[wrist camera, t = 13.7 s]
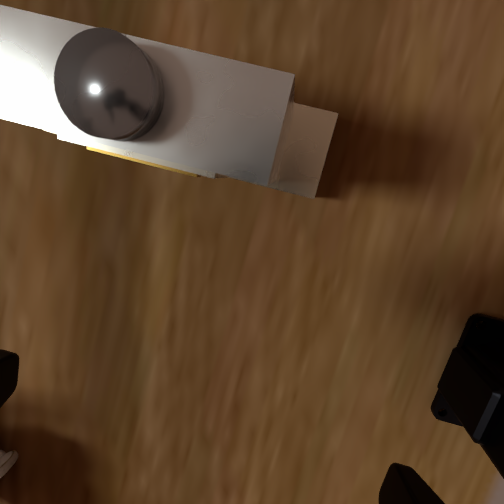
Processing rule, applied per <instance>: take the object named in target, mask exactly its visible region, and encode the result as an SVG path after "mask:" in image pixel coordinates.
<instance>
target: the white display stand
mask: <svg viewBox="0 0 504 504" xmlns="http://www.w3.org/2000/svg"><path fill="white" fill-rule="evenodd" d="M294 87H295V74H291V73H287V72H283V71H279V70H275V69H270V68H266V67H262V66H258V65H253V64H249V63H245V62H241V61H236V60H232V59H228V58H224V57H219V56H215V55H211V54H207V53H202V52H198V51H194V50H190V49H185V48H181V47H177V46H173V45H168V44H164V43H160V42H156V41H151V40H147V39H143V38H139V37H134V36H130V35H126V34H122V33H119V32H117V31H115V30H111V29H107V28H96V27H92V26H88V25H84V24H79V23H75V22H71V21H67V20H62V19H58V18H54V17H50V16H45V15H41V14H37V13H33V12H28V11H24V10H20V9H16V8H11V7H7V6H3V5H0V118H1V119H5V120H9V121H13V122H17V123H21V124H25V125H29V126H33V127H36V128H40V129H44V131H48V132H52V133H56V134H58V137H57V139H61V140H65V141H68V142H72V143H76V144H80V145H84V146H87V149H88V150H92V151H96V152H100V153H104V154H108V155H112V156H116V157H120V158H124V159H128V160H132V161H135V162H139V163H143V164H147V165H151V166H155V167H159V168H163V169H167V170H171V171H175V172H179V173H183V174H186V175H190V176H194V177H201V175H202V176H206V177H210V178H214V179H215V178H227V177H230V178H233V179H237V180H241V181H245V182H249V183H253V184H257V185H261V186H265V187H269V188H273V189H277V190H281V191H285V192H289V193H293V194H297V195H301V196H304V197H308V198H312V199H314V198H315V194H316V191H317V187H318V184H319V180H320V177H321V173H322V170H323V166H324V163H325V159H326V156H327V152H328V149H329V145H330V142H331V138H332V135H333V131H334V128H335V124H336V120H337V117H338V113H335V112H331V111H327V110H323V109H318V108H314V107H310V106H306V105H302V104H298V103H294Z"/></svg>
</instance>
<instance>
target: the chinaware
mask: <svg viewBox="0 0 504 504" xmlns="http://www.w3.org/2000/svg"><path fill="white" fill-rule="evenodd" d="M17 459H18V453H17V452H16V451H10V452H8V453H5V452H4V451H3V450H0V478H1V477H3V476H4V475H5V474H6V472H7V471H8V470H9V469H10V468H11V467H12V466H13V464H14V463H15V462H16V460H17Z"/></svg>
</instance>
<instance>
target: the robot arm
mask: <svg viewBox="0 0 504 504" xmlns="http://www.w3.org/2000/svg"><path fill="white" fill-rule="evenodd" d="M479 321H482V324H481V326H478V327H476V324H477V323H478V322H479ZM18 369H19V356H18V355H17V354H16V353H13V352H10V351H6V350H1V349H0V408H1V406H2V405H3V404H4V403H5V402H6V401H7V399H8V398H9V397H10V396H11V395H12V393H13V392H14V390H15V388H16V386H17V381H18ZM437 387H438V391H437V393H436V395H435V398H434V400H433V402H432V405H431V411H432V413H433V415H434V416H435V418H436V419H438V420H441V421H445V422H448V423H452V424H456V425H459V426H463V427H464V428H465V430H466V431H467V433H468V434H469V436H470V437H471V438H472V440H473V441H474V442H475V443H478V444H480V445H481V447H482V448H483V450H484V451H485V452H486V454H487V455H488V457H489V458H490V460H491V461H492V463H493V464H494V466H495V467H496V468H497V470H498V471H499V473H500V474H501V476H502V477H503V479H504V320H503V319H499V318H495V317H491V316H487V315H484V314H473V315H472V316H470V318H469V319H468V321H467V323H466V326H465V328H464V330H463V333H462V335H461V337H460V340H459V342H458V344H457V347H455V348H454V349H453V350H452V353H451V355H450V357H449V360H448V362H447V364H446V367H445V369H444V371H443V374H442V376H441V378H440V381H439V383H438V386H437ZM440 409H444V410H443V411H442V412H438V411H439V410H440ZM379 504H445V503H444V502H443V501H442V500H441V499H440V498H439V497H438V496H437V494H436V493H435V492H434V491H433V490H432V489H431V488H430V487H429V486H428V485H427V484H426V482H425V481H424V480H423V479H422V478H421V477H420V476H419V475H418V474H417V473H416V471H415V470H414V469H413V468H411V467H409V466H406V465H402V464H399V463H392V464H391V465H390V467H389V469H388V472H387V474H386V476H385V479H384V481H383V484H382V486H381V488H380V492H379Z"/></svg>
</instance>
